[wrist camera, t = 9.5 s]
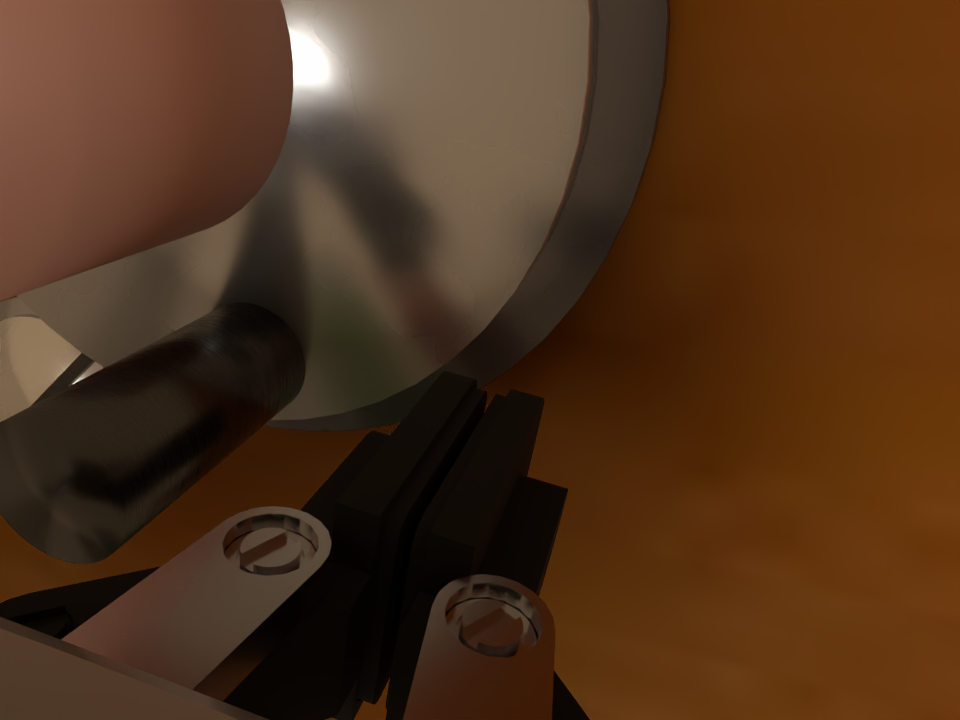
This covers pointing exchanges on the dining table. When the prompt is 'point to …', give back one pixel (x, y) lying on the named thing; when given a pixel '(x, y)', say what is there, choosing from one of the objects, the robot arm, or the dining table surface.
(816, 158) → the dining table surface
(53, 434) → the turntable
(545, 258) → the base
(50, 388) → the dial gauge
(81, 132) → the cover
